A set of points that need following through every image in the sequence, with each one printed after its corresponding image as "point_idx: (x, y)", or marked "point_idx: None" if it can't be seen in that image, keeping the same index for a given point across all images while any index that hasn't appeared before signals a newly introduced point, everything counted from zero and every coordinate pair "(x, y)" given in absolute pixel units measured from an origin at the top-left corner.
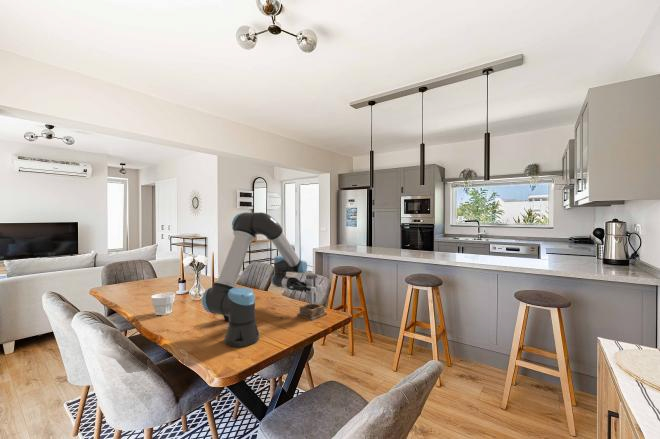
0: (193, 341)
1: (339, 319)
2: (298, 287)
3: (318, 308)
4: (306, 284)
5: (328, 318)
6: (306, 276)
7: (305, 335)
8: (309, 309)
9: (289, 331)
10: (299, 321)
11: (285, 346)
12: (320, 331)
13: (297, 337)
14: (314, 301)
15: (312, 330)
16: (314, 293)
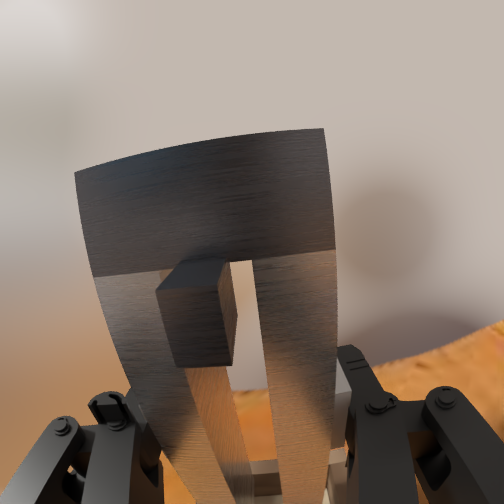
0: None
1: None
2: (495, 455)
3: (270, 461)
4: (334, 397)
5: (253, 442)
6: (326, 178)
7: (442, 358)
8: (346, 473)
9: (491, 396)
10: (420, 486)
11: (500, 326)
12: (382, 364)
13: (469, 354)
14: (252, 487)
15: (406, 379)
16: (239, 440)
